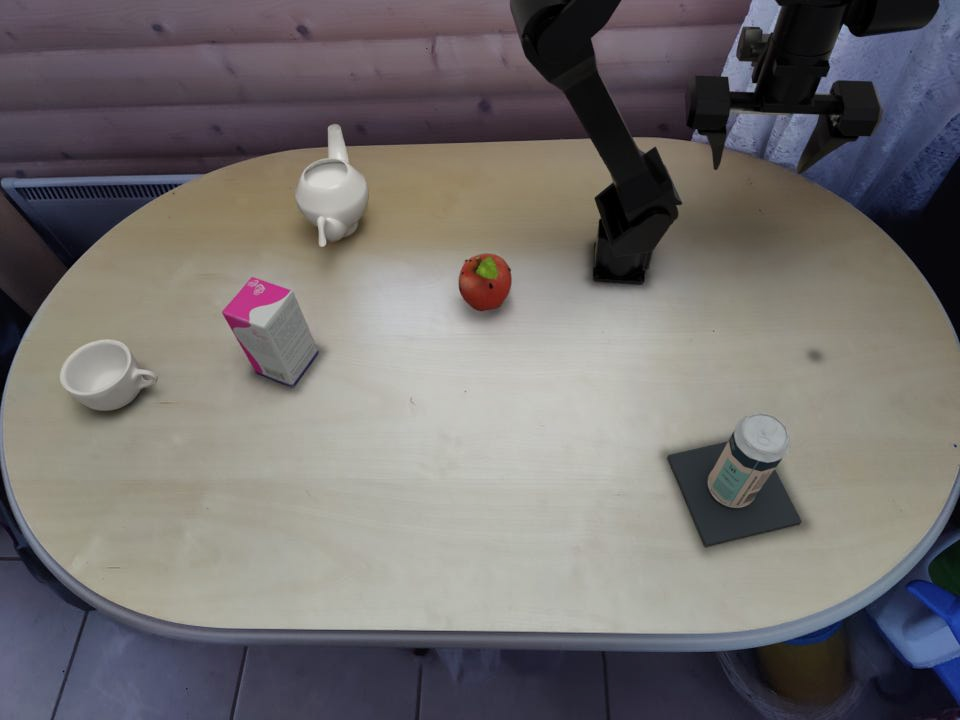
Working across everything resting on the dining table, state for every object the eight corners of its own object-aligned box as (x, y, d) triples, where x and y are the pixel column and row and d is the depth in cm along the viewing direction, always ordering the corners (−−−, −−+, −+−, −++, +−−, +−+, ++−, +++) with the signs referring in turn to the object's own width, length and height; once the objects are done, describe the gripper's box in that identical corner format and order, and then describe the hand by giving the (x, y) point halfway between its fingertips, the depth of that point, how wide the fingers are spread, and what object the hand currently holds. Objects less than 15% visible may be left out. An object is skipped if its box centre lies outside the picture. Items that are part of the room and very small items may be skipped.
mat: (704, 547, 67) (706, 545, 66) (667, 457, 72) (668, 454, 72) (800, 523, 68) (802, 521, 67) (755, 436, 73) (757, 434, 73)
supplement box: (320, 350, 83) (294, 289, 73) (293, 389, 80) (263, 330, 70) (281, 336, 84) (250, 274, 75) (253, 372, 81) (218, 313, 72)
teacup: (75, 419, 79) (48, 395, 74) (99, 364, 83) (75, 338, 79) (158, 420, 78) (136, 396, 74) (178, 364, 82) (158, 338, 78)
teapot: (297, 281, 89) (276, 230, 81) (316, 178, 100) (299, 125, 93) (369, 278, 89) (355, 227, 81) (381, 175, 100) (369, 121, 92)
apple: (447, 301, 86) (439, 245, 78) (488, 273, 88) (484, 216, 80) (487, 337, 82) (484, 283, 74) (528, 306, 85) (529, 251, 76)
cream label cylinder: (757, 473, 70) (796, 416, 60) (751, 515, 68) (791, 463, 58) (710, 460, 71) (740, 402, 61) (702, 501, 69) (733, 448, 59)
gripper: (890, -4, 68) (831, 128, 81) (698, -7, 70) (671, 121, 83) (914, 61, 62) (847, 192, 75) (703, 55, 64) (673, 183, 77)
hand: (756, 169), depth 78 cm, fingers open, 9 cm apart
